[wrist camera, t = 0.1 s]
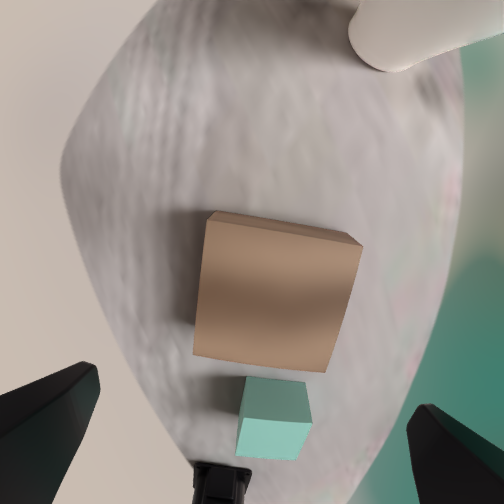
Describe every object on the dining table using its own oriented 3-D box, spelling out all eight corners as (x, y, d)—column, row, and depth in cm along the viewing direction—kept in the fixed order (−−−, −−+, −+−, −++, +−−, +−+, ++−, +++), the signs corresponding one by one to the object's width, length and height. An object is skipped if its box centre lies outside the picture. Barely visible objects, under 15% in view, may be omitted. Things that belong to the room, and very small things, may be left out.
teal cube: (291, 420, 25) (295, 460, 21) (238, 414, 25) (235, 455, 20) (305, 381, 24) (312, 423, 19) (246, 375, 24) (243, 417, 19)
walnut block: (316, 342, 23) (325, 372, 19) (202, 325, 23) (192, 354, 19) (345, 231, 21) (363, 246, 17) (217, 209, 21) (206, 219, 17)
